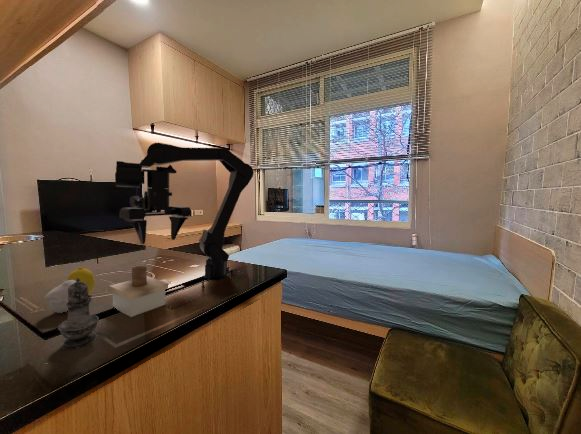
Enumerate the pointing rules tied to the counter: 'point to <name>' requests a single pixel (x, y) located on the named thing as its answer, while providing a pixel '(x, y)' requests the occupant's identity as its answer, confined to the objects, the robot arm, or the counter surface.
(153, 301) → the dish
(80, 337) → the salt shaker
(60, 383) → the counter surface
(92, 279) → the lemon
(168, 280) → the mat
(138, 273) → the lid
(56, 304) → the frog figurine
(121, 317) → the counter surface
